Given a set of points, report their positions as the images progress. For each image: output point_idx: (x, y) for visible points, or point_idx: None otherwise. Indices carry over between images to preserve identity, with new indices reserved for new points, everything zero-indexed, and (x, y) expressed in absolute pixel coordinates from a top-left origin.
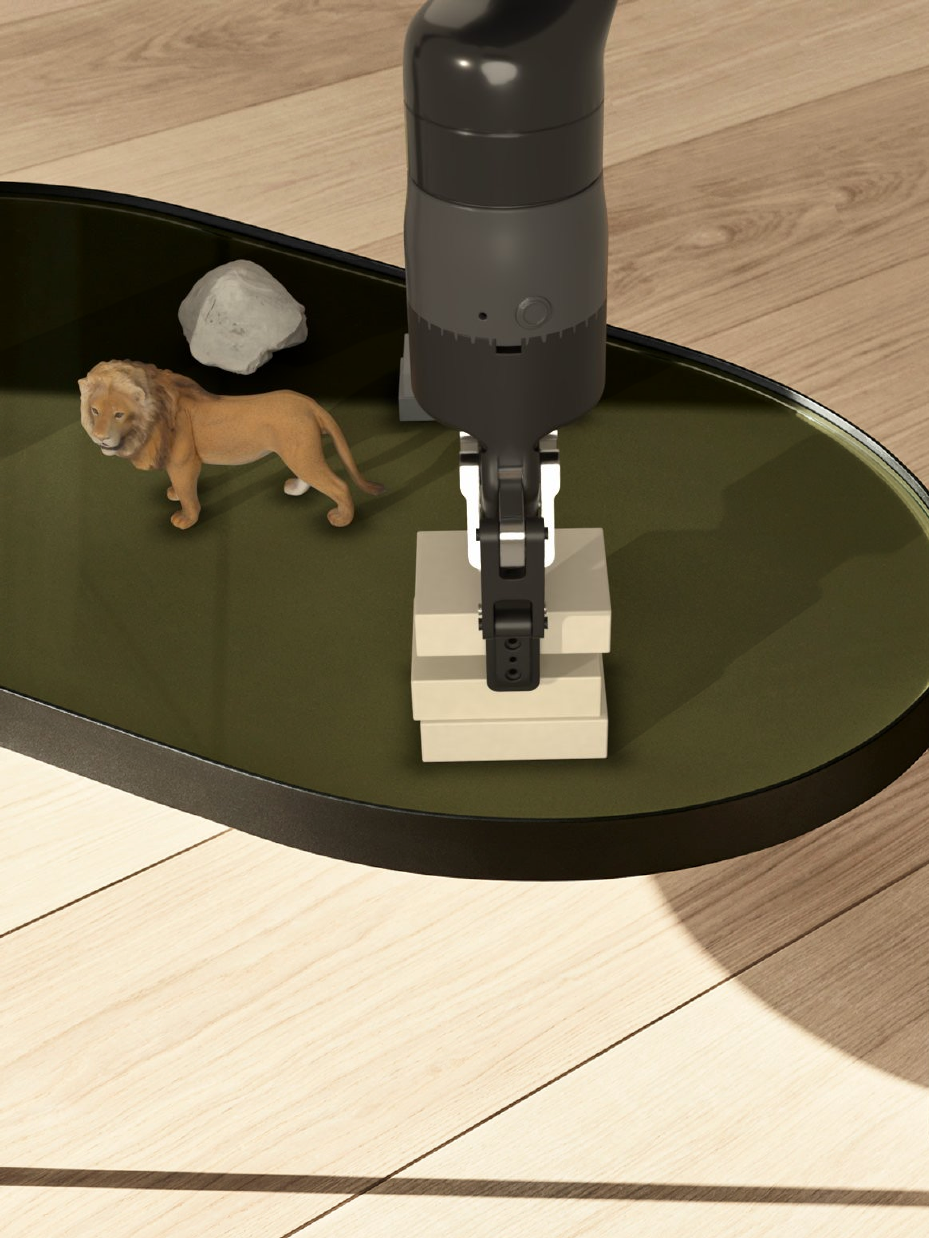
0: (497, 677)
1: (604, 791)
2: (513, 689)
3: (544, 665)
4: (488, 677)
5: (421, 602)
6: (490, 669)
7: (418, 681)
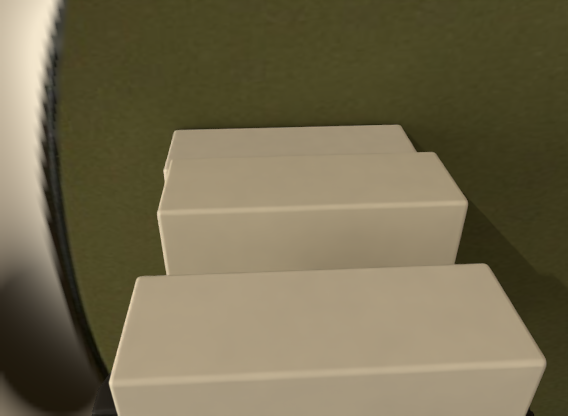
0: (97, 399)
1: None
2: None
3: None
4: None
5: (175, 393)
6: None
7: (161, 224)
